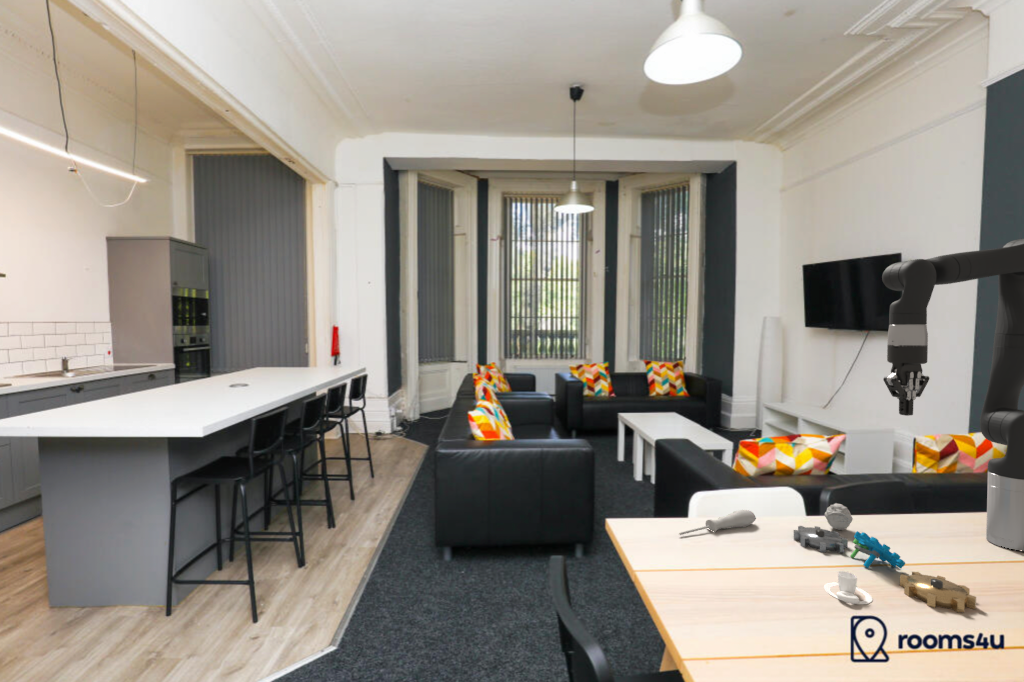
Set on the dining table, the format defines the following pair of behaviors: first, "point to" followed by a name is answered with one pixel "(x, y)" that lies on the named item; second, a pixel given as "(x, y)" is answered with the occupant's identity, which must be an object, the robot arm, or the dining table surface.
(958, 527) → the dining table surface
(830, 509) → the grey rounded lump
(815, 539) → the gear
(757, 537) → the dining table surface
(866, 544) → the gear
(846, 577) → the teacup and saucer
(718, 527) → the screwdriver
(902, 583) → the gear
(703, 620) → the dining table surface
